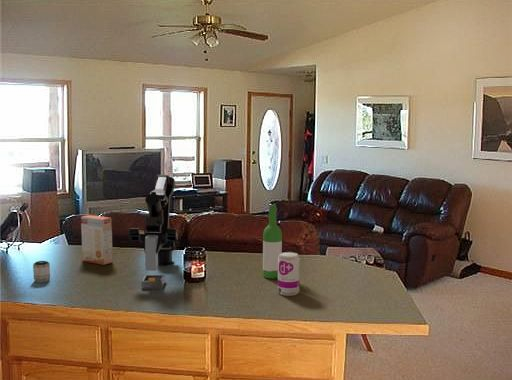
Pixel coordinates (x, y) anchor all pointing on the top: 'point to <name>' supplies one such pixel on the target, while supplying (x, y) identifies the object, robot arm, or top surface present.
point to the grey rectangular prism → (151, 253)
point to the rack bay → (153, 282)
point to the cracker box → (96, 239)
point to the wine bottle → (271, 246)
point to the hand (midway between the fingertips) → (151, 253)
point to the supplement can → (288, 273)
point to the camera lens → (41, 271)
